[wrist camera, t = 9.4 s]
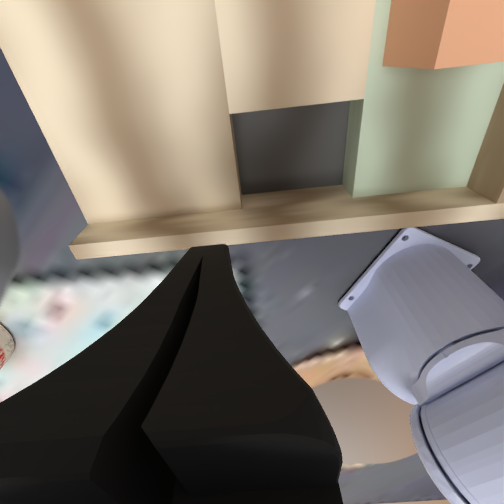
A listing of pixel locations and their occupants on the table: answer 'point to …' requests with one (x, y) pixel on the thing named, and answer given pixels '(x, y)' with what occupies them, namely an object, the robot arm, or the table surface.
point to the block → (444, 33)
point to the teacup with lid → (5, 345)
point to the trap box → (250, 121)
